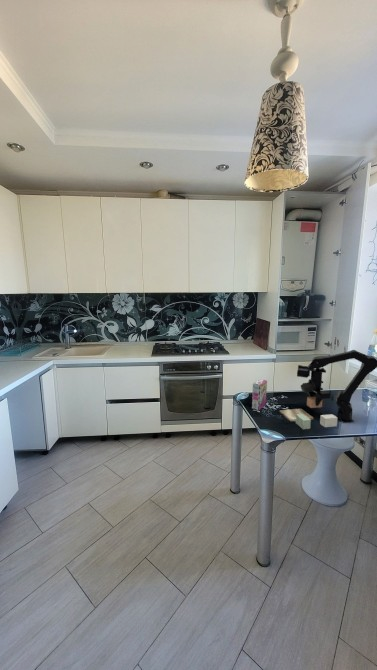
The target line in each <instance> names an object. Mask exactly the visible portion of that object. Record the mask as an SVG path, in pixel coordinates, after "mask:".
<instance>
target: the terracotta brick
mask: <svg viewBox="0 0 377 670" xmlns="http://www.w3.org/2000/svg"><path fill="white" fill-rule="evenodd" d="M306 406H307V407H309V408H310V409H315V408H323V399H322V401H321V402H320V404H319V405H318V406H316V399H315V397H310V396H307V398H306Z"/></svg>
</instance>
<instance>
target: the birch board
mask: <svg viewBox="0 0 377 670" xmlns="http://www.w3.org/2000/svg"><path fill="white" fill-rule="evenodd" d="M279 413H280V414H281V415H282V416H284V417H285V418H286V419H287V420H288V421H289V422H296V415H297V414H304V415H305V416H306V417H308V418H309V419H310V420H311V421H312V420H314V417H313V416H312V415H310V414H309V413H307V411H305V410H304V409H302V408H293V409H282V410H280V409H279Z"/></svg>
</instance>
